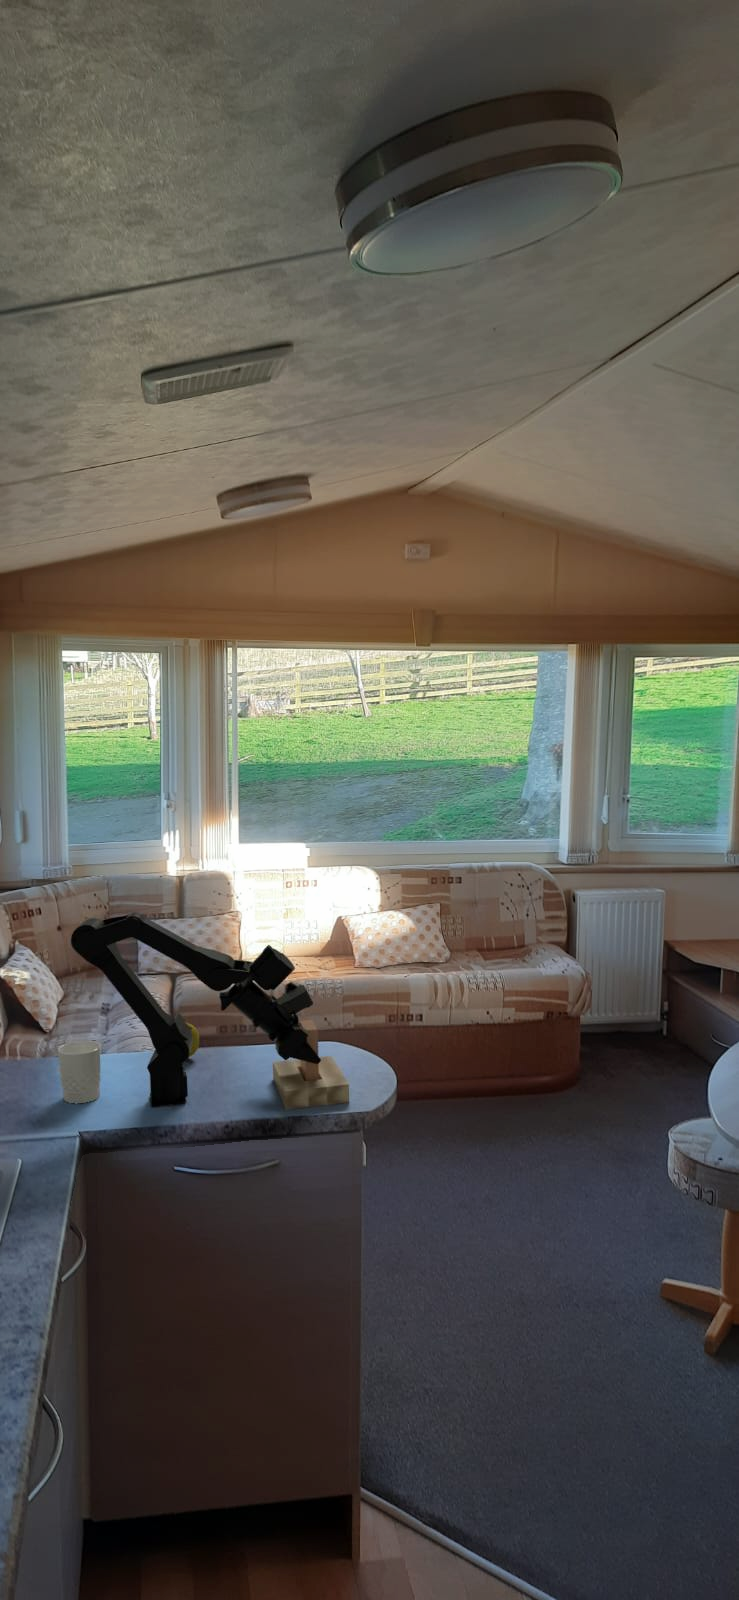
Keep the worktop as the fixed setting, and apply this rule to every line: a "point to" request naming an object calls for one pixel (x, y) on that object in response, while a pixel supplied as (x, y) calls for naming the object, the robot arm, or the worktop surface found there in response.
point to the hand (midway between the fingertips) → (316, 1056)
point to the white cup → (80, 1071)
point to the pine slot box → (310, 1084)
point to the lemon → (194, 1040)
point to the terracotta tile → (308, 1068)
